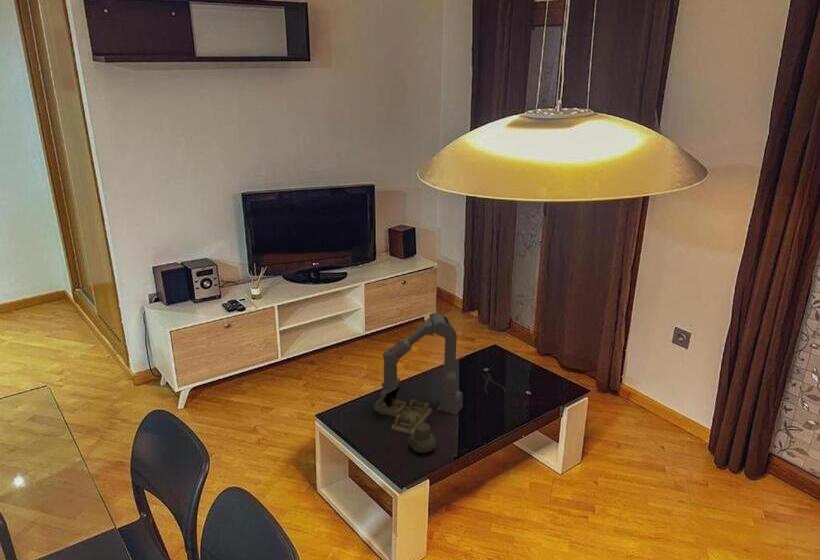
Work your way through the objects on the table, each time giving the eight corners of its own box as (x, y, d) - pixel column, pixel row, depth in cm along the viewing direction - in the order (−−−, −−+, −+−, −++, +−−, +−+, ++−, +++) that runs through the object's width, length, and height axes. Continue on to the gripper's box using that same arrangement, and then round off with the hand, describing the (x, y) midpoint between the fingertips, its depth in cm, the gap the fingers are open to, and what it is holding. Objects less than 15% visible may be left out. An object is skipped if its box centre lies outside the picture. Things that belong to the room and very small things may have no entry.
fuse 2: (428, 407, 267) (428, 401, 265) (425, 411, 265) (425, 406, 263) (412, 402, 270) (412, 397, 268) (409, 407, 268) (409, 402, 266)
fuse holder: (432, 411, 269) (432, 402, 267) (412, 435, 252) (412, 426, 250) (412, 406, 273) (412, 397, 271) (391, 429, 256) (391, 420, 254)
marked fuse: (399, 404, 268) (399, 398, 267) (396, 407, 266) (396, 401, 265) (384, 400, 271) (384, 394, 270) (380, 403, 269) (380, 397, 268)
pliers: (489, 395, 281) (469, 375, 299) (489, 396, 282) (469, 376, 299) (508, 391, 285) (486, 371, 302) (508, 392, 285) (486, 373, 303)
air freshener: (438, 451, 242) (439, 430, 238) (421, 458, 238) (421, 436, 234) (423, 438, 250) (423, 416, 247) (406, 444, 246) (406, 422, 243)
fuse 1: (414, 424, 255) (415, 417, 255) (411, 427, 253) (412, 420, 252) (398, 419, 258) (398, 413, 258) (395, 422, 256) (395, 416, 255)
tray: (406, 408, 271) (406, 402, 270) (398, 417, 264) (398, 411, 263) (382, 402, 275) (382, 396, 274) (373, 411, 269) (373, 405, 268)
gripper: (389, 367, 272) (389, 394, 276) (373, 382, 259) (374, 410, 264) (404, 370, 269) (403, 398, 274) (388, 385, 257) (388, 414, 261)
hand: (390, 404), depth 269 cm, fingers closed on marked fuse, 2 cm apart
